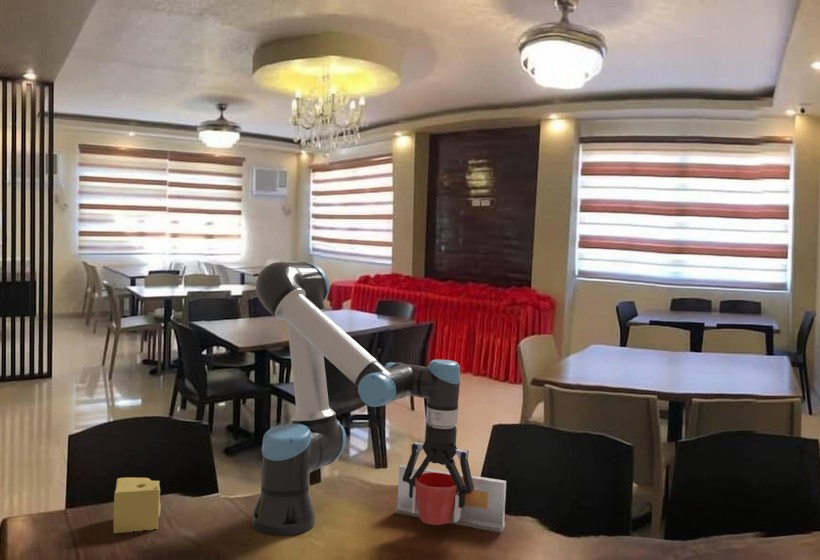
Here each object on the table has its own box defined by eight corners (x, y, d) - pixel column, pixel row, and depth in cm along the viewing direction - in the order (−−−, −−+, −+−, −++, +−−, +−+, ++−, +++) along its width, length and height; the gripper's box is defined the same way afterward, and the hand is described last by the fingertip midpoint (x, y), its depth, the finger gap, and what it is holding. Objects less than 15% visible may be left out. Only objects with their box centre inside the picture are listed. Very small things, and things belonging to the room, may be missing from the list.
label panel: (395, 513, 176) (397, 467, 176) (401, 507, 180) (403, 463, 180) (501, 532, 166) (503, 484, 166) (504, 527, 170) (507, 479, 170)
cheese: (160, 514, 170) (161, 474, 169) (159, 531, 159) (160, 489, 159) (115, 517, 166) (116, 477, 166) (110, 535, 156) (111, 492, 156)
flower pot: (454, 530, 158) (457, 489, 157) (408, 524, 160) (411, 483, 160) (460, 513, 168) (463, 475, 168) (417, 508, 170) (419, 469, 170)
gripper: (392, 421, 164) (386, 511, 165) (482, 435, 156) (476, 530, 157) (403, 414, 171) (398, 501, 172) (491, 428, 163) (485, 519, 164)
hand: (435, 515), depth 164 cm, fingers closed on flower pot, 10 cm apart
